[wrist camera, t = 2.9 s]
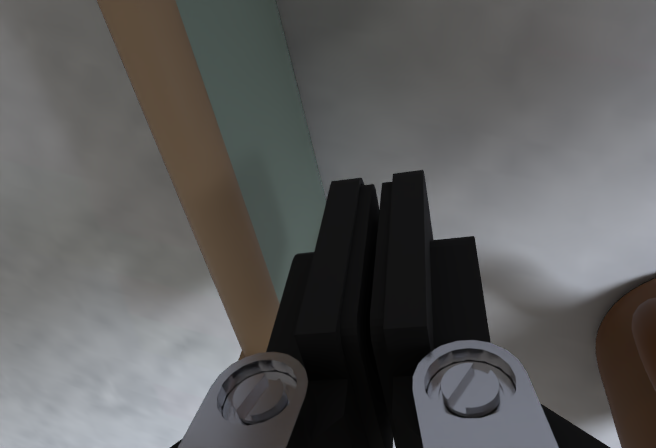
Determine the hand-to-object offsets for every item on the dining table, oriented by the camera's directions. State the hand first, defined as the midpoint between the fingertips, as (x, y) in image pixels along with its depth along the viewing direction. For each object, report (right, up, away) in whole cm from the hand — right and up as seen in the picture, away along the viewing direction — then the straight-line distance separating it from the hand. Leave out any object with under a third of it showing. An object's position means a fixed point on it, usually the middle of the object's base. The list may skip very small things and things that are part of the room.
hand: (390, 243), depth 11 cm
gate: (-3, +6, +8) cm, 11 cm away
